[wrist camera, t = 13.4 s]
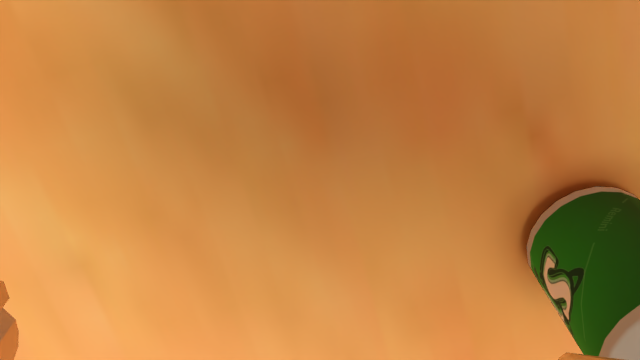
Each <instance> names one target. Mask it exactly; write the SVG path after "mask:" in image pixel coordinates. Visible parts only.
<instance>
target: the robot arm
mask: <svg viewBox="0 0 640 360" xmlns="http://www.w3.org/2000/svg"><path fill="white" fill-rule="evenodd" d="M8 299H9V295H8V293H7V290H6V287H5V284H4V282H3V281H0V360H14V357H15V354H16V351H17V348H18V334H19V331H18V327H17V324H16V320H15V319H14V318H13V317H12V316H11V315H10V314H9V313H8V312H7V311H6V310H5V309H4V308H3V306H4V305H5V303H6V302H7V301H8ZM558 360H624V359H616V358H608V357H599V356H591V355H582V354H574V353H565V354H563V355H562V356H561V357H559V359H558Z"/></svg>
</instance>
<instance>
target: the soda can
mask: <svg viewBox="0 0 640 360" xmlns="http://www.w3.org/2000/svg"><path fill="white" fill-rule="evenodd" d="M526 248H527V258H528V264H529V266H530V268H531V270H532V271H533V273H534V275H535V277H536V278H537V280H538V282H539V283H540V285H541V286H542V288H543V290H544V291H545V293H546V294H547V296H548V298H549V299H550V301H551V303H552V304H553V306H554V307H555V309H556V311H557V312H558V314H559V315H560V317H561V319H562V320H563V322H564V323H565V325H566V327H567V328H568V330H569V332H570V333H571V335H572V336H573V338H574V340H575V341H576V343H577V344H578V346H579V348H580V349H581V351H582V352H583V354H584V355H591V356H599V357H608V358H616V359H624V360H640V200H639V199H638V198H637V197H636V196H635V195H633V194H631V193H629V192H626V191H624V190H621V189H618V188H616V187H592V188H587V189H583V190H579V191H575V192H573V193H571V194H569V195H567V196H565V197H563V198H561V199H559V200H558V201H556V202H555V203H554V204H553V205H552V206H550V207H549V208H548V209H547V210H546V211H545V212H544V213H542V214H541V216H540V217H539V219H538V220H537V222H536V223H535V225H534V227H533V228H532V230H531V232H530V236H529V239H528V243H527V247H526Z"/></svg>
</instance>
